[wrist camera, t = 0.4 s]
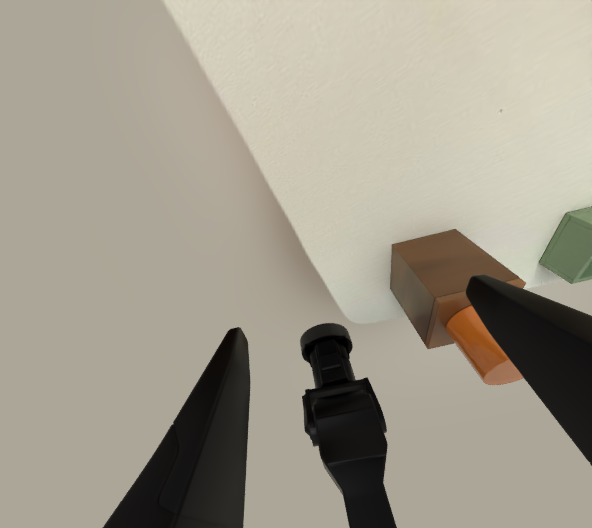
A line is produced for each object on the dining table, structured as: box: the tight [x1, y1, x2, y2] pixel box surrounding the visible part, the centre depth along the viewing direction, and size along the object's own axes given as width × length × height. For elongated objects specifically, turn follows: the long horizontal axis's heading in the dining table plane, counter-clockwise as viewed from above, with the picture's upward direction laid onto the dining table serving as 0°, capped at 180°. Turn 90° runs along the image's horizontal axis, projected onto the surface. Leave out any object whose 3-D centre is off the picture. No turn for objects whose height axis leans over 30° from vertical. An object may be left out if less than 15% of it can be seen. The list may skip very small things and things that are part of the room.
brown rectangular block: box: [390, 229, 526, 349], centre depth 21 cm, size 6×6×8 cm
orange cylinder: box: [446, 305, 524, 385], centre depth 17 cm, size 4×4×4 cm
